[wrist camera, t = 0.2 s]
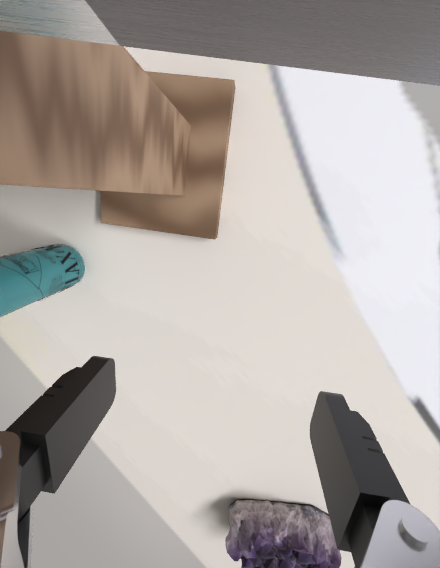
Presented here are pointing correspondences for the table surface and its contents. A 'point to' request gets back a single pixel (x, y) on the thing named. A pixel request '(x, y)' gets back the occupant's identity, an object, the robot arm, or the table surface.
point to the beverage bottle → (37, 275)
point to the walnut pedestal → (114, 132)
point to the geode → (281, 536)
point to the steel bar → (254, 31)
